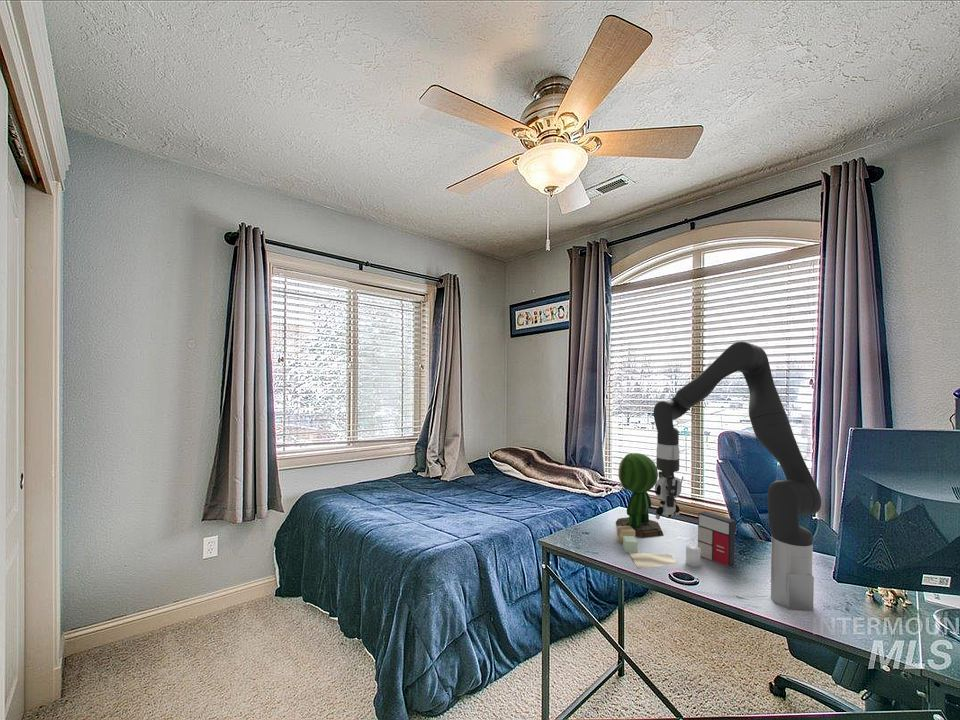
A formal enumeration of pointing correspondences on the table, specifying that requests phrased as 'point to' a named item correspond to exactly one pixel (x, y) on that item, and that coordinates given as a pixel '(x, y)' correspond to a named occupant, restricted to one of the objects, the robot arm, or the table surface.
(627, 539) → the sage brick
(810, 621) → the table surface
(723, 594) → the table surface
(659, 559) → the birch pad
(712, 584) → the table surface
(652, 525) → the figurine
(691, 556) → the white upright block
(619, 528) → the oak cube
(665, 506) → the robot toy
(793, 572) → the robot arm
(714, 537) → the grey red panel box
